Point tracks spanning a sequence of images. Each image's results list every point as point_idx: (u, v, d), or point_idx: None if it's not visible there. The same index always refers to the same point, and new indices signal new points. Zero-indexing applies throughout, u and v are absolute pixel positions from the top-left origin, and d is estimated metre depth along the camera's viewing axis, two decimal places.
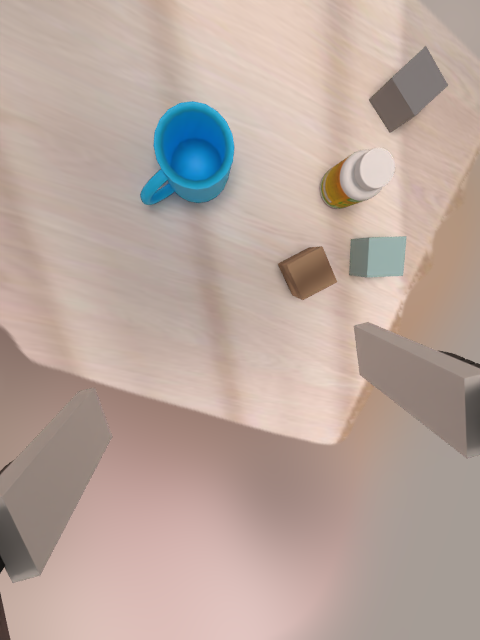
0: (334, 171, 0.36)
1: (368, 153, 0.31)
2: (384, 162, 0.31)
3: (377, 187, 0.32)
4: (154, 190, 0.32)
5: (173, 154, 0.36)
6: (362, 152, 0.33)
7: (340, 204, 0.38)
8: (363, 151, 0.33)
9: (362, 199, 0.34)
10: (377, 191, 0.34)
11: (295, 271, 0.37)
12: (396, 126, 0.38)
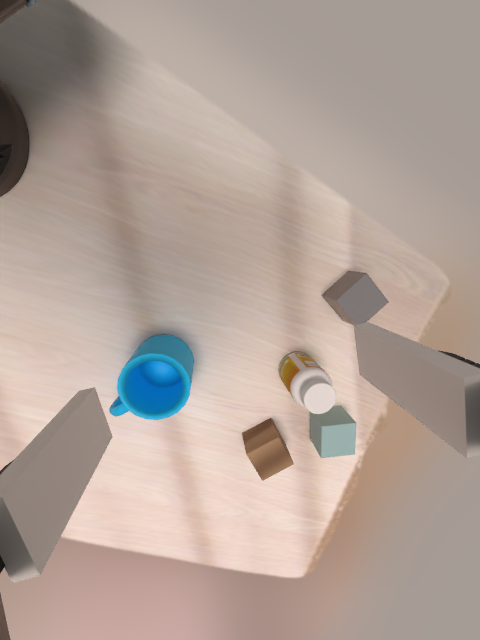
0: (287, 374, 0.39)
1: (311, 389, 0.34)
2: (325, 394, 0.35)
3: (320, 413, 0.35)
4: (120, 414, 0.36)
5: None
6: (308, 374, 0.36)
7: None
8: (309, 373, 0.36)
9: None
10: None
11: (254, 458, 0.41)
12: (346, 321, 0.42)
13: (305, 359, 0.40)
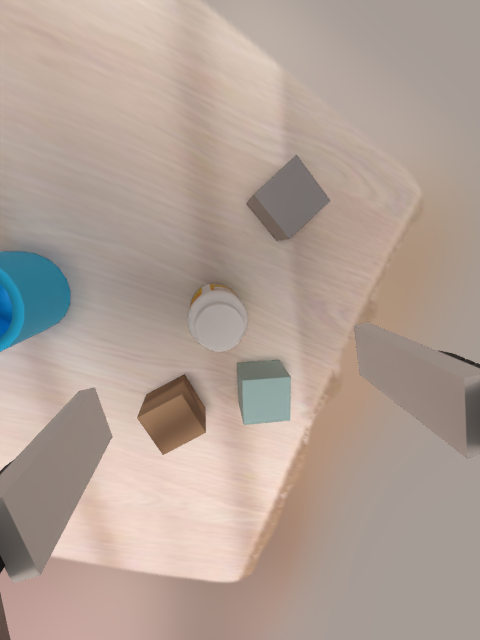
0: None
1: (204, 312, 0.23)
2: (227, 321, 0.23)
3: (222, 350, 0.24)
4: None
5: None
6: (209, 297, 0.25)
7: None
8: (211, 295, 0.25)
9: None
10: None
11: (149, 423, 0.30)
12: (279, 238, 0.30)
13: (218, 286, 0.29)
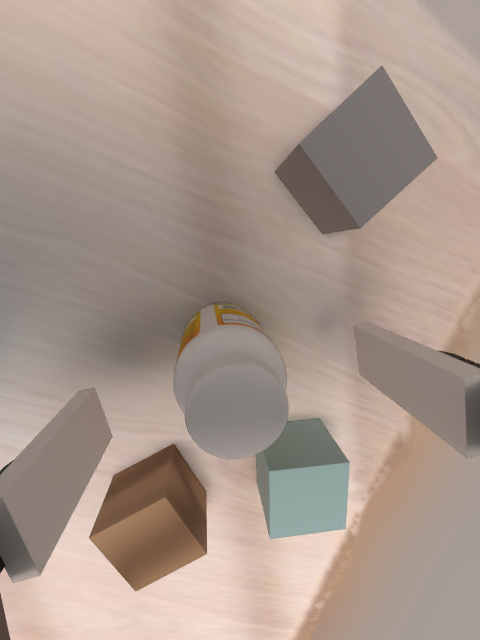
0: (180, 348, 0.16)
1: (205, 382, 0.11)
2: (255, 399, 0.11)
3: (243, 456, 0.12)
4: None
5: None
6: (216, 342, 0.13)
7: None
8: (219, 338, 0.13)
9: None
10: None
11: (110, 546, 0.17)
12: (330, 229, 0.18)
13: (228, 311, 0.17)
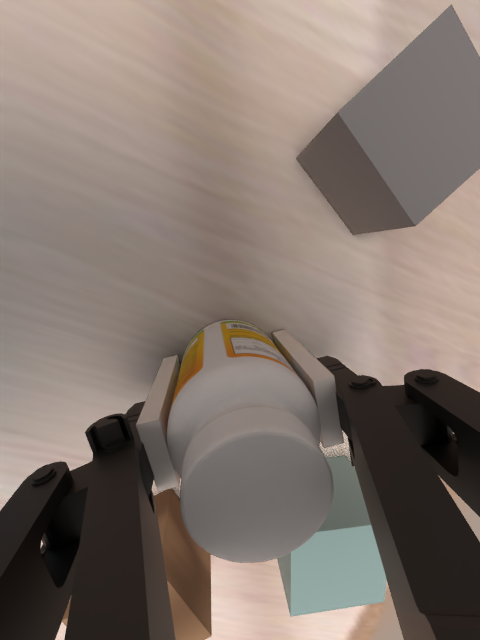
0: (177, 382, 0.12)
1: (210, 458, 0.07)
2: (285, 479, 0.07)
3: (265, 557, 0.08)
4: None
5: None
6: (225, 384, 0.09)
7: None
8: (230, 379, 0.09)
9: None
10: None
11: None
12: (366, 229, 0.14)
13: (240, 334, 0.13)
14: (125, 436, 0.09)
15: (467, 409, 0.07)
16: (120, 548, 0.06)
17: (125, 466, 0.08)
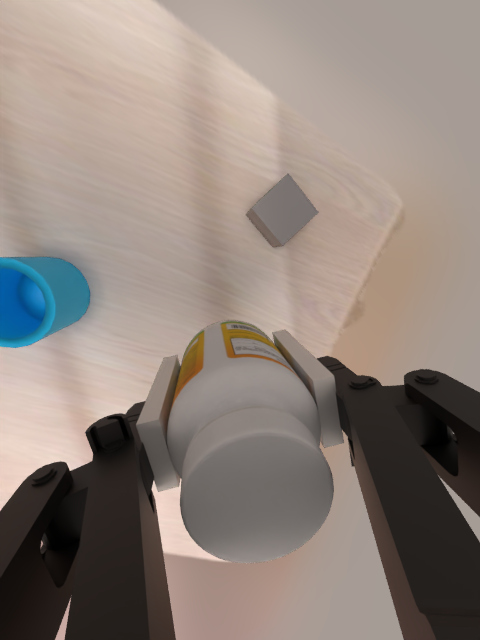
0: (177, 383, 0.12)
1: (211, 458, 0.07)
2: (286, 480, 0.07)
3: (265, 558, 0.08)
4: None
5: (18, 283, 0.32)
6: (226, 385, 0.09)
7: None
8: (230, 380, 0.09)
9: None
10: None
11: None
12: (274, 245, 0.34)
13: (240, 335, 0.13)
14: (125, 436, 0.09)
15: (467, 409, 0.07)
16: (120, 547, 0.06)
17: (125, 466, 0.08)
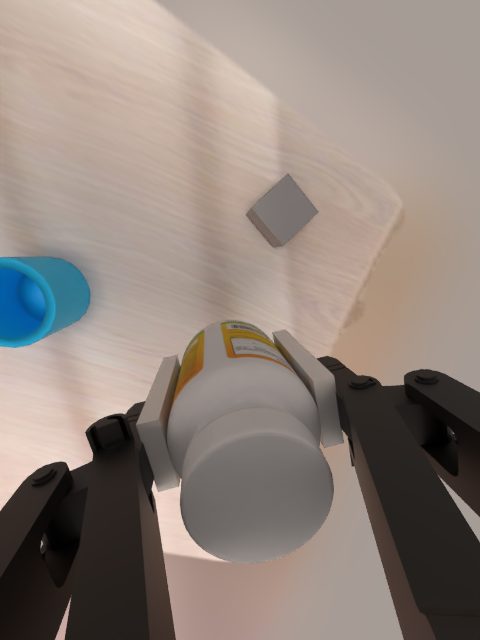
0: (177, 383, 0.12)
1: (211, 459, 0.07)
2: (285, 480, 0.07)
3: (265, 558, 0.08)
4: None
5: (18, 283, 0.32)
6: (226, 385, 0.09)
7: None
8: (230, 380, 0.09)
9: None
10: None
11: None
12: (274, 245, 0.34)
13: (240, 334, 0.13)
14: (125, 436, 0.09)
15: (467, 409, 0.07)
16: (120, 547, 0.06)
17: (125, 466, 0.08)
